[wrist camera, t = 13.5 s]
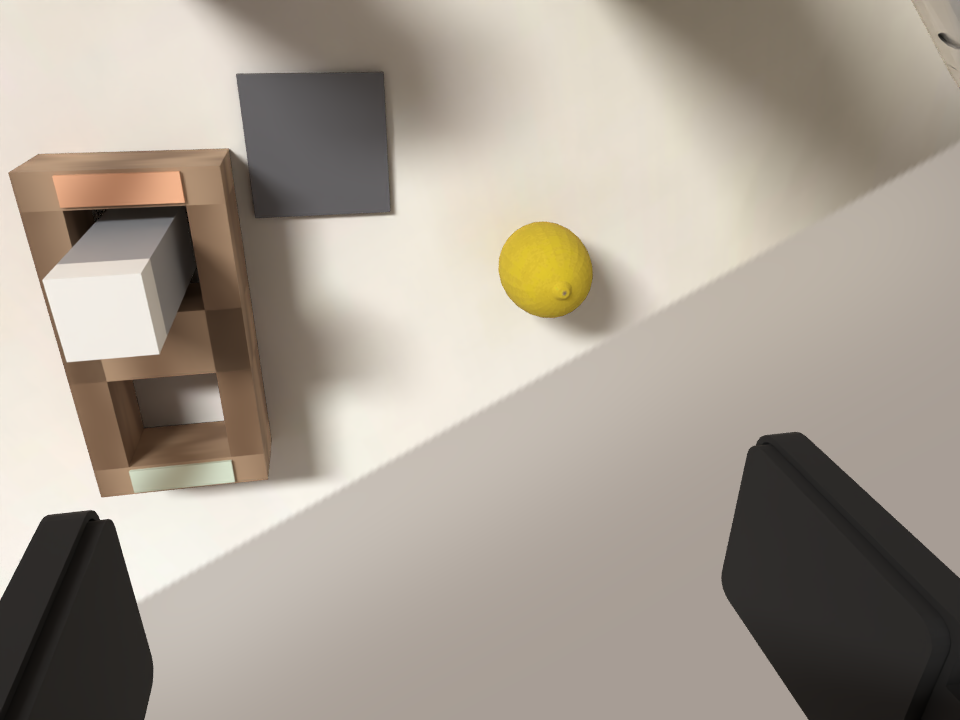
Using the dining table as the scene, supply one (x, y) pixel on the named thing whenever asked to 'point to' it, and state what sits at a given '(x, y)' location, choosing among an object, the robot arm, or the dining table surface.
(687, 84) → the dining table surface
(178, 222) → the plug
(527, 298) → the lemon
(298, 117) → the mat
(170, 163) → the socket block
